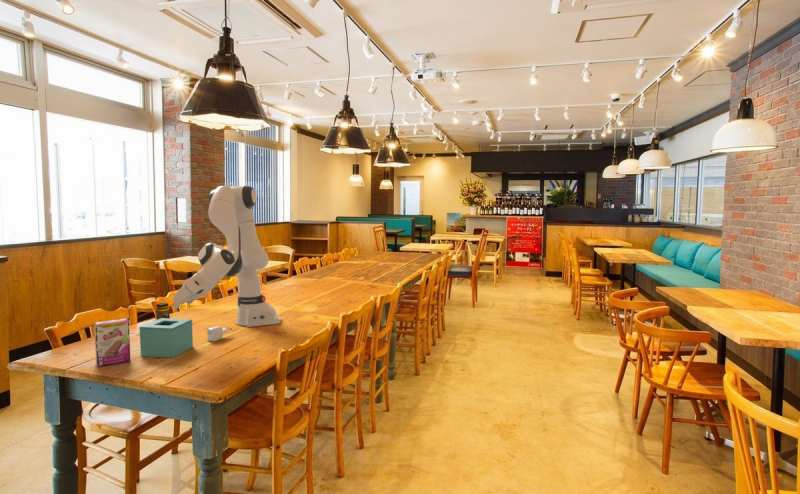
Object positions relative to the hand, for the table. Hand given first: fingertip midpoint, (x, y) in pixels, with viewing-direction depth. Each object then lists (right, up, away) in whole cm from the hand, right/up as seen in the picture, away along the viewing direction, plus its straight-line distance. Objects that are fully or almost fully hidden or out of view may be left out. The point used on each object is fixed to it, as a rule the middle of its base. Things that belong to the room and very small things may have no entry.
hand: (181, 305), depth 190 cm
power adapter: (+8, -18, +21) cm, 29 cm away
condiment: (-28, -16, +38) cm, 50 cm away
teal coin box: (-7, -20, +3) cm, 21 cm away
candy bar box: (-21, -21, -11) cm, 32 cm away
